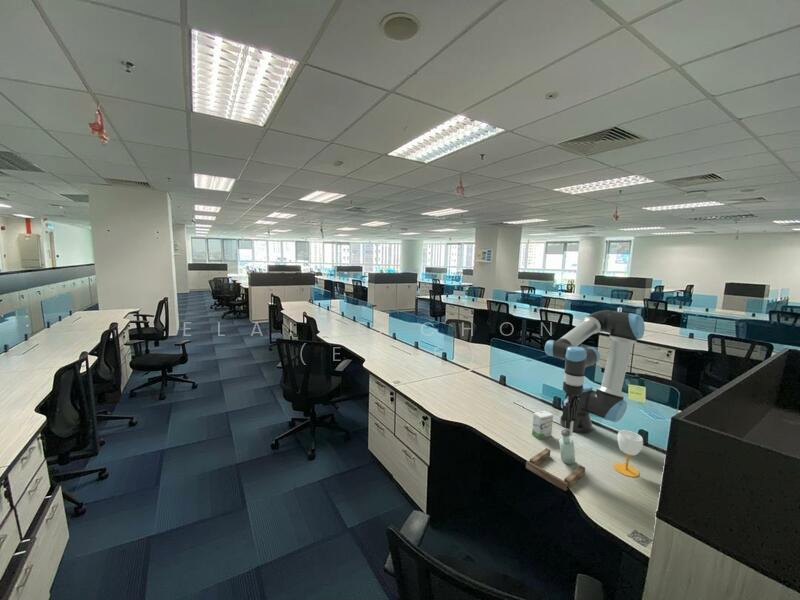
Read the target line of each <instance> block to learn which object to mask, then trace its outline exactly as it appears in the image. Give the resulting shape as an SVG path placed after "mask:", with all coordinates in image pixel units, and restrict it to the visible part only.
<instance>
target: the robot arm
mask: <svg viewBox="0 0 800 600" xmlns="http://www.w3.org/2000/svg"><path fill="white" fill-rule="evenodd" d="M599 332H603V333H607V334H608V335H609V339H611V342H610V346H609V351H608V355H607V360H606V364H605V368H604V372H603V376H602V381H601V385H600V386H599V387H597V388H596V389H595V390H594V389H593V386H592V385H591V384H588V383H584V382H585V373H586V372H585V371H586V368H587V367H591V366H594V365H595V364H597V363H598V362H599V361H601V360H600V359H601V355H600V354H601V353H600V352H599V350H597V348H595V347H592V346H591V347H589V346H588V347H581V346H579V345H581V344H582V343H583V342H584V341H585V340H588V338H590V337H591V336H592V335H594V334H598V333H599ZM644 335H645V321H644V318H643V317H642V315H640V314H635V313H631V312H623V311H616V310H609V309H608V310H607V309H606V310H599V311H596V312H593V313H590V314H588V315H586V316H585V317H583V318H582V319H581V323H579V324H577V326H574V328H572V329H571V330H569V331H568V332H567V333H566V334H564V335H562V337H560V338H559V339H557V340H553V339H549V340H547V341H546V342H545V345H544V352H545V354H546V355H547V356H550V357H552V358H556V359H560V360H563V361H565V362H564V372H563V382H562V391H564V393H565V396H564V400H562V401H561V405H562V407H561V408H562V414H561V416H560V421H559V422H560V425H561V426H562V427H563V428H564V429H565V430H568V431H569V432H570V435H569V437H572V436H573V432H576V433H581V434H588V433H590V432H592V430H593V424H592V419H591V415H590V414H592V415H594V416H597V417H599V418H602V419H604V420H605V421H610V422H613V423H618V422H619V421H621V420H622V418H623V417H624V415H625V413H626V411H627V408H628V402H627V400H625V399H624V398H625V396H624V394H623V393H622V389H623V385H624V381H625V378H626V372H627V368H628V364H629V359H630V354H631V351H632V346H633V345H635V344H637V342H638V340H639V339H642V338H643V336H644Z"/></svg>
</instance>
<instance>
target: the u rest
mask: <svg viewBox="0 0 800 600" xmlns="http://www.w3.org/2000/svg"><path fill="white" fill-rule="evenodd" d="M551 451H552V450H551V449H549V448H547V447H546V448H544V449H543V450H541V451H540V452H538V453H537V454H535V455H534V456H532V457H531V458H529V460H526V462H525V469H527V470H528V471H529V472H531V473H534V474H535V475H537V476H538V477H540V478H542V479H544V480H546V481H547V482H549V483H551V484H552V485H554V486H556V487H557V488H560V489H561V490H563V491H564V492H566V491H568V489H570V488H571V487H573V485H574V484H576V483H577V482H578V481H579V480H580V479H581V478H582V477H583V476H584V475H585V473H586V467H584V466H582V465H581V464H580V465H579V466H578V467H576V468H575V469H574V470H573V471H572V472H571V473H569V474H568V475H567V476H566V477H565V478H564V479H561V478H559V477H557V476H556V475H554V474H552V473H550V472H549V471H547V470H545V469H543V468H542V467H540V466H538V465H540V464H541V463H543V462H544V461H545V460H547V459H549V457H551ZM567 487H568V488H567Z"/></svg>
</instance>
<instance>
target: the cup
mask: <svg viewBox="0 0 800 600" xmlns="http://www.w3.org/2000/svg"><path fill="white" fill-rule="evenodd" d="M617 444H618V448H619V450H620V451H621V452H622V453H623V454H624V455H626V460H625V463H624V462H617V463H614V464H613V467H614V470H615V471H616V472H618V473H619V474H621V475H624V476H626V477H630V478H637V477H639V476H640V472H639V470H638V469H637V468H635V467H633V465H629V460H630V457H634V456H637V455H638V454H639V453H641V451H642V449H643V446H644V439H643V437H642V435H640V434H638V433H636V432H634V431H630V430H626V429H622V430H619V431H618V432H617Z"/></svg>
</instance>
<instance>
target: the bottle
mask: <svg viewBox="0 0 800 600" xmlns="http://www.w3.org/2000/svg"><path fill="white" fill-rule="evenodd" d="M560 435H561V436H562V437H560V439H559V440H558V442H559V450H560V459H561V461H562V462H563V463H564V464H567V465H573V464H574V463H576V454H575V443H574V440H573V439H572V438H571V437H570V436H569V435H570V432H569V431H568V430H565V428H564V429H562V430H561V434H560Z"/></svg>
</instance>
